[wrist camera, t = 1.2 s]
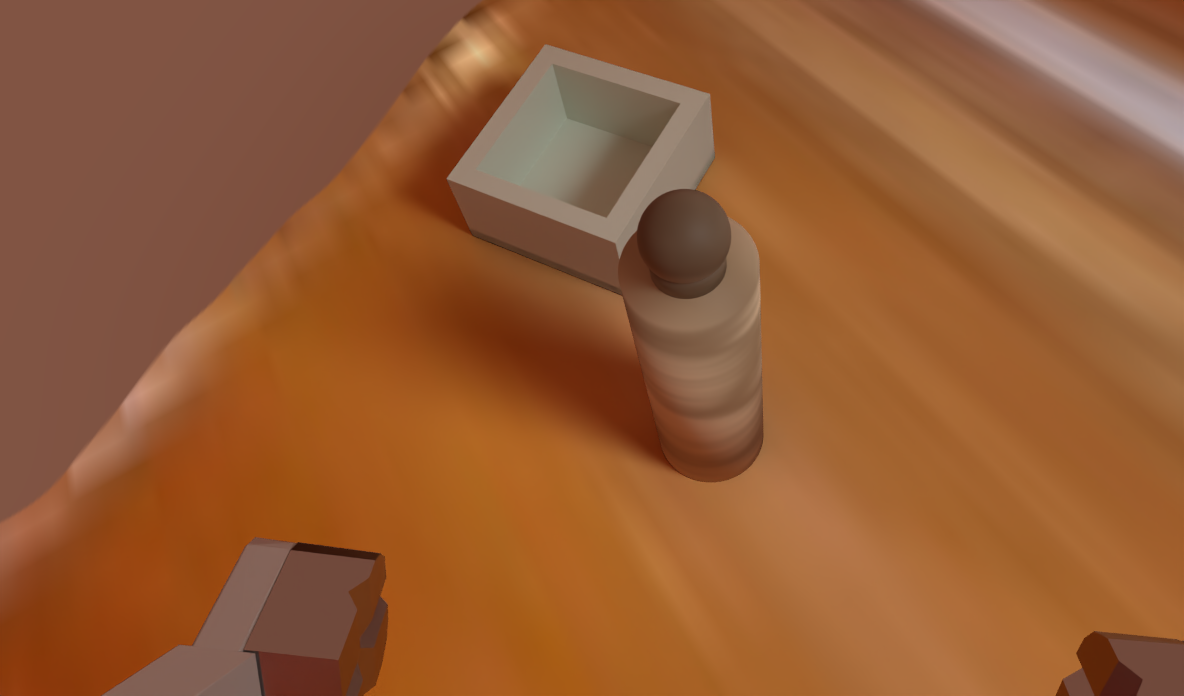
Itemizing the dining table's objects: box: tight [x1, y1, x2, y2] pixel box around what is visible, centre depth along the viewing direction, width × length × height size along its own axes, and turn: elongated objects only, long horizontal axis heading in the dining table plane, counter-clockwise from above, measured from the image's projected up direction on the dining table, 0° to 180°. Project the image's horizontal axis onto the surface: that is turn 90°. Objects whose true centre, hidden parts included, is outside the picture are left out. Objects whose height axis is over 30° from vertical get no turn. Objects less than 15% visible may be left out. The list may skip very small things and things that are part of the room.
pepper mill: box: [618, 189, 763, 482], centre depth 35 cm, size 4×4×16 cm
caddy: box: [447, 44, 715, 295], centre depth 47 cm, size 9×9×4 cm
